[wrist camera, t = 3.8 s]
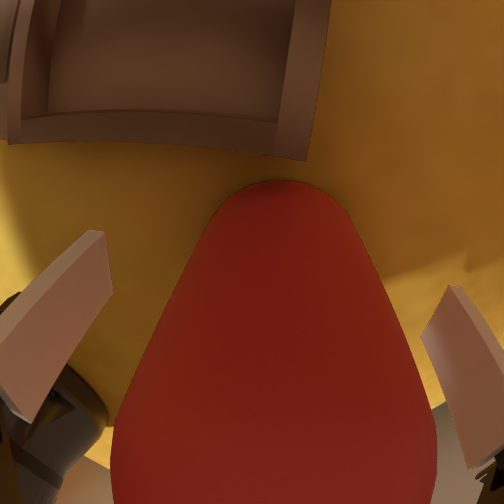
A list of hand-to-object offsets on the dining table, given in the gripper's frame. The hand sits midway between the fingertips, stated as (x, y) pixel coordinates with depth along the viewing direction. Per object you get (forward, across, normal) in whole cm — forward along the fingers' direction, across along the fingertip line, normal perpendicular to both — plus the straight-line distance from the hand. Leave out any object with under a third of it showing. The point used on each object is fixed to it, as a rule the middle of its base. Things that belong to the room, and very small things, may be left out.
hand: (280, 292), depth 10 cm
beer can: (+3, 0, 0) cm, 3 cm away
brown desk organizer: (+3, +8, -16) cm, 18 cm away
